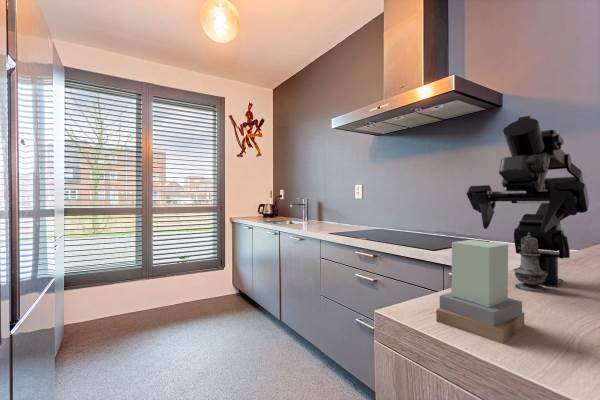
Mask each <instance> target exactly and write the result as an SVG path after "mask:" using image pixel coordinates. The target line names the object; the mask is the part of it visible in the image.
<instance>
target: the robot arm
mask: <svg viewBox="0 0 600 400" xmlns="http://www.w3.org/2000/svg"><path fill="white" fill-rule="evenodd" d="M503 135H504V138H505V141H506V143H507V147H508V150H509V152H510V155H511V156H504V157H502V158H501V159H500V164H499V171H498V174H499V175H500V176H501V177H502V182H501V185H502V188H505V189H504V190H493V189H492V187H491V185H489V184H488V185H487V184H486V185H482V184H481V185H470V186H469V188H468V189H467V191H466V196H467V199H468V200H469V202H470V205H471V207H472V209H473V210H474V211H476V212H478V213H480V215H481V221H482V227H483V228H484V229H483V230H487V229H488V228H489V226H490V225H491V221H492V219H493V216H494V214H495V211H494V209H495V207H496V206H497V205H496V202H511V204H539V206H538V208H537V210H536V212H535V214H534V213H525V214H523V215H522V216H521V220H519V221H518V223H519V224H518V225H517V227H515V228H514V230H513V240H514V247H515V254H519V253H520V252H521V239H522V238H523V237H526V236H528V233H529V232H530V233H531V236H532V237H534V238H536V239H537V240H538V253H539V254H541V255H540V256H539V266H540V269H541V270H542V271H545V272H547V273H548V275H546V280H545V281H544V282H543V283H542V284H541V285H542V286H544V285H545V286H549V287H558V286H560V285H561V284H562V283H563V282H564V279H562V278H559V259H562V260H563V259H570V257H571V252H570V245H569V243H570V242H569V239H568V237H567V236H566V233H565V231H564V230H563V229H562V226H561V221H563V220H564V219H566V218H568V217H569V216H576V215H577V214H578V213H579V214H583V213H586V212H588V211H589V203H590V202H589V196H588V195H589V194H588V190H587V184H586V183H585V182H584V177H583V172H582V170H581V169H580V168H579V167H578V166H576V165H575V164H574V163H573V162H572V159H571V158H572V157H571V154H570V153H568V154H567V153H565V151H563V149H562V146H563V145H564V138H563V137H562V136H561V134H560V133H557V131H556V130H555V129H548V130H547V129H546V130H541V126H540V123H539V120H537V119H535V118H532V117H531V115H525V116H521V117H518V120H516V121H513V122H512V123H510V124H508V125H507V126H505V127H503ZM564 169H566V171H567V172H568V173H569V174H570V175H571V176H563V177H559V176H558V177H547V174H548V171H551V170H564ZM519 255H520V254H519Z"/></svg>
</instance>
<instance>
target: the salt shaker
mask: <svg viewBox="0 0 600 400" xmlns="http://www.w3.org/2000/svg"><path fill="white" fill-rule="evenodd" d="M538 250H539V249H538V240H537V239H536V238H534V237H532V236H531V233H530V232H529V233H528V236H526V237H523V238H522V239H521V252H520V253H519V255H520V265H519V266H518V267H515V268H513V269H512V271H513V272H514V276H515V278H516V279H517V280H518V281H519V282H520V283H516V284H515V286H514V287H515V288H516V289H519V290H522V291H527V292H534V293H544V292H547V291H548V290H547V288H545V287H544V286H543V284H542V283H543V282H544V281H545V280H546V275H548V273H547V272H545V271H542V270H541V269H540V266H539V256H540V255H541V254H539V253H538Z"/></svg>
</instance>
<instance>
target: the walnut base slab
mask: <svg viewBox="0 0 600 400" xmlns="http://www.w3.org/2000/svg"><path fill="white" fill-rule="evenodd" d="M435 313H436V314H435V316H436V318H435V320H436V321H435V322H437V323H438V324H439V323H440V324H443V325H445V326H448V327H452V328H455V329H458V330H461V331H463V332H466V333H470V334H472V335H475V336H478V337H481V338H484V339H487V340H490V341H493V342H496V343H499V344H504V343H506V342H507V341H508V340H509V339H511V338H512V337H513V336H514V335H515V334H516V333H517V332H518V331H519V330H521V329H522V328H524V326H525V312H523V311H522V315H521V316H518V317H516V318H514V319H511V320H509V321H506V322H504V323H502V324H499V325H497V326H495V327H492V326H489V325H487V324H484V323H481V322H478V321H475V320H472V319H470V318H467V317H464V316H461V315H458V314H455V313H452V312H450V311H447V310H444V309H441V308H440V307H438V308H436V311H435Z"/></svg>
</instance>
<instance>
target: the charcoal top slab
mask: <svg viewBox="0 0 600 400" xmlns="http://www.w3.org/2000/svg"><path fill="white" fill-rule="evenodd" d="M439 308H441V309H444V310H447V311H450V312H452V313H455V314H458V315H461V316H464V317H467V318H470V319H472V320H475V321H478V322H481V323H484V324H487V325H489V326H492V327H495V326H497V325H499V324H502V323H504V322H506V321H509V320H511V319H514V318H516V317H518V316H521V315H522V312H523V301H522V300H518V299H514V298H510V297H508V300H507V301H504V302H502V303H499V304H496V305H494V306H491V307H486V306H483V305H480V304H477V303H473V302H470V301H467V300H463V299H460V298H457V297H454V296H451V292H449V293H448V292H447V293H445V294H441V295H439Z"/></svg>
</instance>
